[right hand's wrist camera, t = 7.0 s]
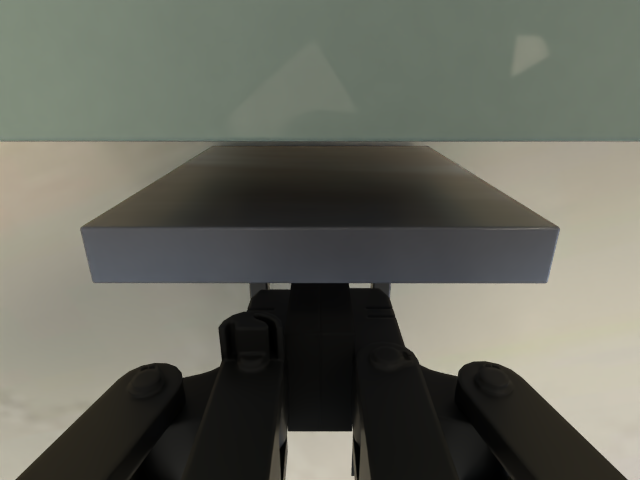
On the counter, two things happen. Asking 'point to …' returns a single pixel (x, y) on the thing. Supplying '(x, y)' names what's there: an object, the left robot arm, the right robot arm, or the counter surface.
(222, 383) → the right robot arm
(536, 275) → the drawer
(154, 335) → the counter surface
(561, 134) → the cabinet
